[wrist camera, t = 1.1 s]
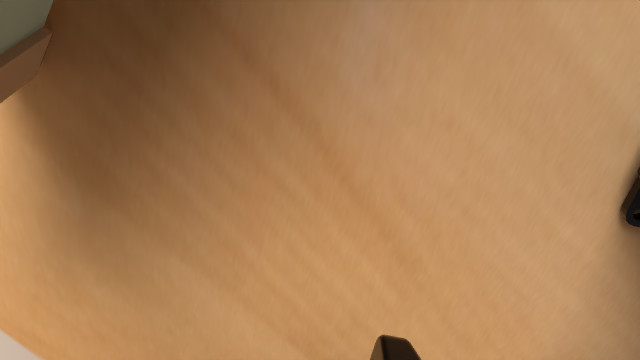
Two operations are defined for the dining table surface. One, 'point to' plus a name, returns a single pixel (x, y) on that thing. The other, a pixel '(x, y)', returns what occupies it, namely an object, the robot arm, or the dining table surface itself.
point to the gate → (21, 42)
